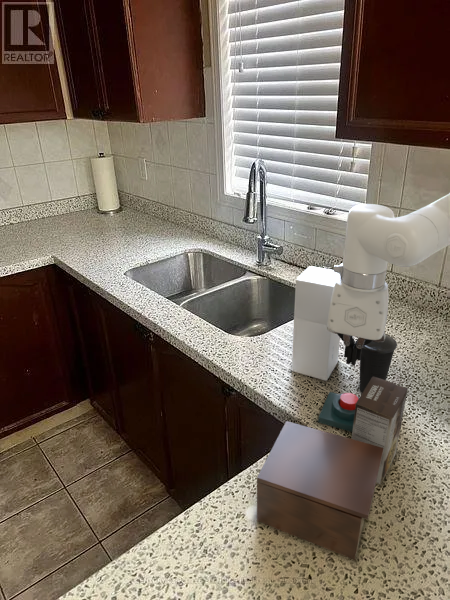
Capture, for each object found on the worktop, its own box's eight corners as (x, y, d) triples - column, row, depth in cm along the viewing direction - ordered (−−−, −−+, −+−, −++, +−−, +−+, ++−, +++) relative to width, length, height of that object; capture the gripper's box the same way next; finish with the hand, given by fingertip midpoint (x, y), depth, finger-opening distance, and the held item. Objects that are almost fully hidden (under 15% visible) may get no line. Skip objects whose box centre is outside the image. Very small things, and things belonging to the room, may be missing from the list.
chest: (370, 493, 77) (377, 451, 72) (354, 563, 66) (361, 519, 62) (284, 464, 83) (286, 424, 79) (256, 524, 72) (256, 481, 68)
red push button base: (375, 411, 95) (377, 396, 94) (367, 439, 88) (369, 424, 86) (328, 399, 99) (330, 384, 98) (317, 425, 92) (319, 410, 90)
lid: (383, 451, 72) (383, 447, 72) (367, 519, 61) (368, 515, 61) (286, 424, 79) (286, 420, 78) (256, 481, 68) (256, 477, 68)
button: (359, 401, 93) (360, 395, 92) (355, 412, 90) (356, 405, 89) (341, 397, 94) (342, 390, 93) (337, 407, 91) (338, 401, 91)
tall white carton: (326, 383, 104) (334, 287, 93) (291, 373, 108) (295, 279, 97) (337, 364, 111) (346, 271, 100) (304, 355, 115) (309, 265, 104)
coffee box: (363, 441, 88) (372, 374, 80) (396, 455, 84) (409, 386, 77) (345, 472, 81) (354, 402, 74) (380, 488, 78) (393, 417, 70)
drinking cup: (382, 408, 96) (396, 328, 87) (348, 396, 100) (357, 318, 91) (392, 389, 102) (405, 312, 93) (359, 378, 106) (368, 303, 97)
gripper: (316, 276, 79) (309, 362, 88) (405, 291, 73) (388, 381, 82) (326, 261, 85) (319, 343, 93) (410, 274, 79) (394, 359, 88)
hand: (351, 360), depth 88 cm, fingers closed
